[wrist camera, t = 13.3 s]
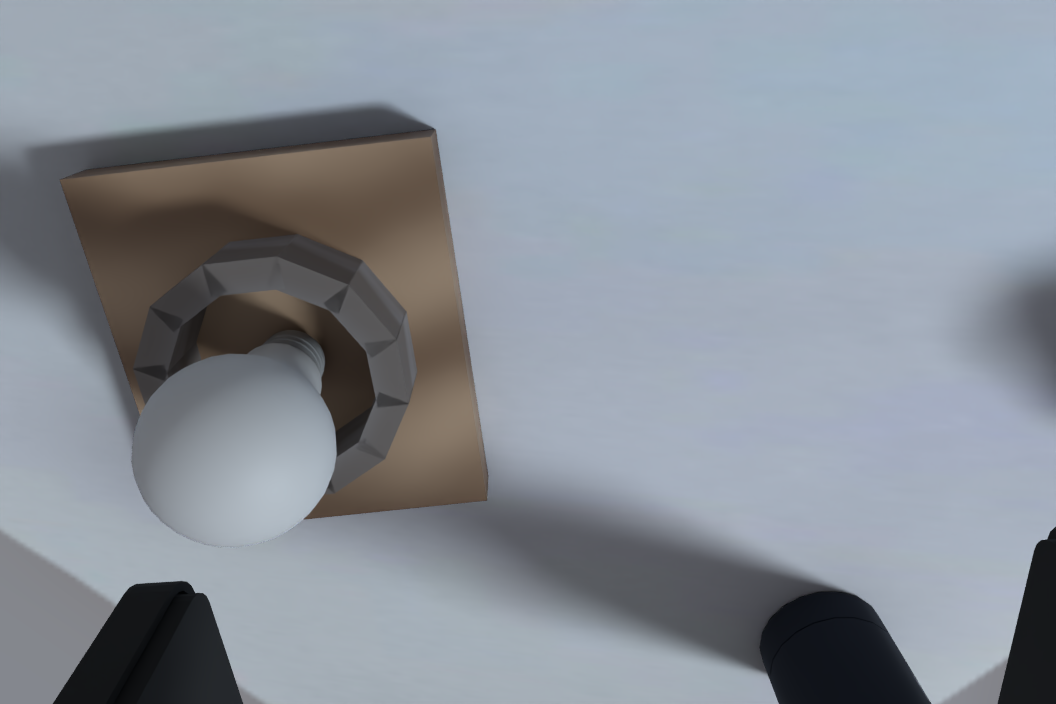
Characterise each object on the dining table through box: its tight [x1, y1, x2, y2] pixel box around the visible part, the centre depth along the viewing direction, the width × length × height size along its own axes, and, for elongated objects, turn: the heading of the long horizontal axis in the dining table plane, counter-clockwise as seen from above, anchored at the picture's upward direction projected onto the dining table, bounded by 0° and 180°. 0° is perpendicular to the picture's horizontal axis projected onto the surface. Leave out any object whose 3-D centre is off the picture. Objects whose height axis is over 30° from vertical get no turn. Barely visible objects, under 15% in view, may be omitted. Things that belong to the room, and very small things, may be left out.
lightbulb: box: [131, 330, 337, 547], centre depth 28 cm, size 6×6×11 cm
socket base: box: [60, 129, 488, 519], centre depth 32 cm, size 16×14×5 cm
